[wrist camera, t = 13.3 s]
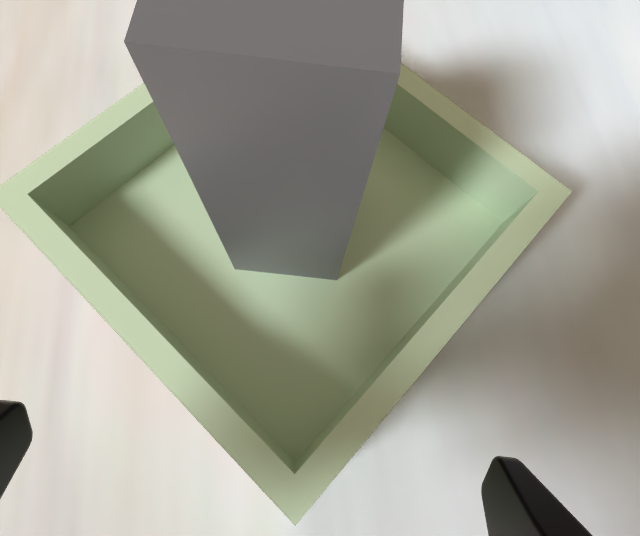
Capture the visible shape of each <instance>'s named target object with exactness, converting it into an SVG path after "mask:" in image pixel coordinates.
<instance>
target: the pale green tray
mask: <svg viewBox="0 0 640 536" xmlns="http://www.w3.org/2000/svg"><path fill="white" fill-rule="evenodd" d="M571 192H572V191H571V190H570V189H568V188H567V187H566V186H564V185H563V184H562V183H560V182H559V181H558V180H556V179H555V178H554V177H552V176H551V175H550V174H548V173H547V172H546V171H544V170H543V169H542V168H540V167H539V166H538V165H536V164H535V163H534V162H532V161H531V160H530V159H528V158H527V157H526V156H524V155H523V154H522V153H520V152H519V151H518V150H516V149H515V148H514V147H512V146H511V145H510V144H508V143H507V142H506V141H504V140H503V139H502V138H500V137H499V136H498V135H496V134H495V133H494V132H492V131H491V130H490V129H488V128H487V127H486V126H484V125H483V124H482V123H480V122H479V121H478V120H476V119H475V118H474V117H472V116H471V115H470V114H468V113H467V112H466V111H464V110H463V109H462V108H460V107H459V106H458V105H456V104H455V103H454V102H452V101H451V100H450V99H448V98H447V97H446V96H444V95H443V94H442V93H440V92H439V91H438V90H436V89H435V88H434V87H432V86H431V85H430V84H428V83H427V82H426V81H424V80H423V79H422V78H420V77H419V76H418V75H416V74H415V73H414V72H412V71H411V70H410V69H408V68H407V67H406V66H404V65H403V64H402V63H401V67H400V76H399V79H398V82H397V86H396V89H395V92H394V95H393V99H392V102H391V105H390V108H389V112H388V115H387V118H386V121H385V125H384V128H383V131H382V134H381V138H380V141H379V144H378V147H377V151H376V154H375V157H374V160H373V164H372V167H371V170H370V173H369V177H368V180H367V183H366V186H365V190H364V193H363V196H362V199H361V203H360V206H359V209H358V212H357V216H356V219H355V222H354V225H353V229H352V232H351V235H350V238H349V242H348V245H347V248H346V251H345V255H344V258H343V261H342V264H341V268H340V271H339V274H338V277H337V280H330V279H321V278H311V277H302V276H293V275H284V274H275V273H265V272H256V271H247V270H238V269H234V267H233V265H232V262H231V260H230V258H229V256H228V254H227V252H226V250H225V248H224V246H223V244H222V242H221V240H220V238H219V236H218V234H217V232H216V230H215V228H214V225H213V223H212V221H211V219H210V217H209V215H208V213H207V211H206V209H205V207H204V205H203V203H202V201H201V199H200V197H199V195H198V193H197V190H196V188H195V186H194V184H193V182H192V180H191V178H190V176H189V174H188V172H187V170H186V168H185V166H184V164H183V162H182V160H181V158H180V156H179V153H178V151H177V149H176V147H175V145H174V143H173V141H172V139H171V137H170V135H169V133H168V131H167V129H166V127H165V125H164V123H163V121H162V118H161V116H160V114H159V112H158V110H157V108H156V106H155V104H154V102H153V100H152V98H151V96H150V94H149V92H148V90H147V88H146V86H145V83H143V84H142V85H140V86H139V87H137V88H136V89H135V90H133V91H132V92H130V93H129V94H128V95H126V96H125V97H123V98H122V99H121V100H119V101H118V102H116V103H115V104H114V105H112V106H111V107H109V108H108V109H107V110H105V111H104V112H102V113H101V114H100V115H98V116H97V117H95V118H94V119H93V120H91V121H90V122H88V123H87V124H86V125H84V126H83V127H81V128H80V129H79V130H77V131H76V132H74V133H73V134H72V135H70V136H69V137H67V138H66V139H65V140H63V141H62V142H60V143H59V144H58V145H56V146H55V147H53V148H52V149H51V150H49V151H48V152H46V153H45V154H44V155H42V156H41V157H39V158H38V159H37V160H35V161H34V162H32V163H31V164H30V165H28V166H27V167H25V168H24V169H23V170H21V171H20V172H18V173H17V174H16V175H14V176H13V177H11V178H10V179H9V180H7V181H6V182H4V183H3V184H2V185H0V208H1V209H2V210H3V211H4V212H5V213H6V214H7V215H8V216H9V218H10V219H11V220H12V221H13V222H14V223H15V224H16V225H17V226H18V227H19V228H20V229H21V230H22V232H23V233H24V234H25V235H26V236H27V237H28V238H29V239H30V240H31V241H32V242H33V243H34V245H35V246H36V247H37V248H38V249H39V250H40V251H41V252H42V253H43V254H44V255H45V256H46V257H47V259H48V260H49V261H50V262H51V263H52V264H53V265H54V266H55V267H56V268H57V269H58V270H59V271H60V273H61V274H62V275H63V276H64V277H65V278H66V279H67V280H68V281H69V282H70V283H71V284H72V286H73V287H74V288H75V289H76V290H77V291H78V292H79V293H80V294H81V295H82V296H83V297H84V298H85V300H86V301H87V302H88V303H89V304H90V305H91V306H92V307H93V308H94V309H95V310H96V311H97V312H98V314H99V315H100V316H101V317H102V318H103V319H104V320H105V321H106V322H107V323H108V324H109V325H110V327H111V328H112V329H113V330H114V331H115V332H116V333H117V334H118V335H119V336H120V337H121V338H122V339H123V341H124V342H125V343H126V344H127V345H128V346H129V347H130V348H131V349H132V350H133V351H134V352H135V353H136V355H137V356H138V357H139V358H140V359H141V360H142V361H143V362H144V363H145V364H146V365H147V366H148V368H149V369H150V370H151V371H152V372H153V373H154V374H155V375H156V376H157V377H158V378H159V379H160V380H161V382H162V383H163V384H164V385H165V386H166V387H167V388H168V389H169V390H170V391H171V392H172V393H173V394H174V396H175V397H176V398H177V399H178V400H179V401H180V402H181V403H182V404H183V405H184V406H185V407H186V409H187V410H188V411H189V412H190V413H191V414H192V415H193V416H194V417H195V418H196V419H197V420H198V421H199V423H200V424H201V425H202V426H203V427H204V428H205V429H206V430H207V431H208V432H209V433H210V434H211V435H212V437H213V438H214V439H215V440H216V441H217V442H218V443H219V444H220V445H221V446H222V447H223V448H224V450H225V451H226V452H227V453H228V454H229V455H230V456H231V457H232V458H233V459H234V460H235V461H236V462H237V464H238V465H239V466H240V467H241V468H242V469H243V470H244V471H245V472H246V473H247V474H248V475H249V476H250V478H251V479H252V480H253V481H254V482H255V483H256V484H257V485H258V486H259V487H260V488H261V489H262V491H263V492H264V493H265V494H266V495H267V496H268V497H269V498H270V499H271V500H272V501H273V502H274V503H275V505H276V506H277V507H278V508H279V509H280V510H281V511H282V512H283V513H284V514H285V515H286V516H287V517H288V519H289V520H290V521H291V522H292V523H293V524H294V525H295V526H296V524H297V523H298V522H299V521H300V520H301V518H302V517H303V516H304V515H305V513H306V512H307V511H308V510H309V509H310V507H311V506H312V505H313V504H314V503H315V501H316V500H317V499H318V498H319V497H320V495H321V494H322V493H323V492H324V491H325V489H326V488H327V487H328V486H329V485H330V483H331V482H332V481H333V480H334V478H335V477H336V476H337V475H338V474H339V472H340V471H341V470H342V469H343V468H344V466H345V465H346V464H347V463H348V462H349V460H350V459H351V458H352V457H353V456H354V454H355V453H356V452H357V451H358V450H359V448H360V447H361V446H362V445H363V444H364V442H365V441H366V440H367V439H368V437H369V436H370V435H371V434H372V433H373V431H374V430H375V429H376V428H377V427H378V425H379V424H380V423H381V422H382V421H383V419H384V418H385V417H386V416H387V415H388V413H389V412H390V411H391V410H392V409H393V407H394V406H395V405H396V404H397V402H398V401H399V400H400V399H401V398H402V396H403V395H404V394H405V393H406V392H407V390H408V389H409V388H410V387H411V386H412V384H413V383H414V382H415V381H416V380H417V378H418V377H419V376H420V375H421V374H422V372H423V371H424V370H425V369H426V367H427V366H428V365H429V364H430V363H431V361H432V360H433V359H434V358H435V357H436V355H437V354H438V353H439V352H440V351H441V349H442V348H443V347H444V346H445V345H446V343H447V342H448V341H449V340H450V339H451V337H452V336H453V335H454V334H455V332H456V331H457V330H458V329H459V328H460V326H461V325H462V324H463V323H464V322H465V320H466V319H467V318H468V317H469V316H470V314H471V313H472V312H473V311H474V310H475V308H476V307H477V306H478V305H479V304H480V302H481V301H482V300H483V299H484V297H485V296H486V295H487V294H488V293H489V291H490V290H491V289H492V288H493V287H494V285H495V284H496V283H497V282H498V281H499V279H500V278H501V277H502V276H503V275H504V273H505V272H506V271H507V270H508V269H509V267H510V266H511V265H512V264H513V262H514V261H515V260H516V259H517V258H518V256H519V255H520V254H521V253H522V252H523V250H524V249H525V248H526V247H527V246H528V244H529V243H530V242H531V241H532V240H533V238H534V237H535V236H536V235H537V234H538V232H539V231H540V230H541V229H542V227H543V226H544V225H545V224H546V223H547V221H548V220H549V219H550V218H551V217H552V215H553V214H554V213H555V212H556V211H557V209H558V208H559V207H560V206H561V205H562V203H563V202H564V201H565V200H566V199H567V197H568V196H569V195H570V194H571Z"/></svg>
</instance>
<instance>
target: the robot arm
mask: <svg viewBox="0 0 640 536" xmlns="http://www.w3.org/2000/svg"><path fill="white" fill-rule="evenodd" d="M32 434H33V432H32V428H31V424H30V421H29V417H28V414H27V410H26V407H25V405H24V404H23V403H21V402H16V401H7V400H0V499H1V497H2V495H3V493H4V491H5V489H6V488H7V486H8V484H9V482H10V480H11V479H12V477H13V475H14V473H15V471H16V470H17V468H18V466H19V464H20V462H21V461H22V459H23V457H24V455H25V453H26V451H27V450H28V448H29V446H30V444H31V441H32ZM481 492H482V500H483V506H484V512H485V517H486V523H487V529H488V534H489V536H592V535H591V534H590V533H589V532H588V530H587V529H586V528H585V527H584V526H583V525H582V524H581V523H580V522H579V521H578V520H577V519H576V518H575V517H574V516H573V515H572V514H571V513H570V512H569V511H568V510H567V509H566V508H565V507H564V506H563V505H562V504H561V503H560V502H559V500H558V499H557V498H556V497H555V496H554V495H553V494H552V493H551V492H550V491H549V490H548V489H547V488H546V487H545V486H544V485H543V484H542V483H541V482H540V481H539V480H538V479H537V478H536V477H535V476H534V475H533V474H532V473H531V472H530V470H529V469H528V468H527V467H526V466H525V465H524V464H523V463H522V462H521V461H519V460H518V459H516V458H511V457H502V456H496V457H495V458H494V459H493V460H492V462H491V465H490V467H489V469H488V471H487V474H486V476H485V478H484V480H483V483H482V490H481Z"/></svg>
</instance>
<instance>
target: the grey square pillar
mask: <svg viewBox="0 0 640 536" xmlns="http://www.w3.org/2000/svg"><path fill="white" fill-rule="evenodd" d="M403 3H404V0H137V3H136V6H135V9H134V12H133V15H132V18H131V21H130V24H129V28H128V31H127V34H126V37H125V40H124V42H125V44H126V46H127V49H128V51H129V53H130V55H131V57H132V59H133V61H134V63H135V65H136V67H137V69H138V71H139V73H140V75H141V77H142V79H143V81H144V83H145V86H146V88H147V90H148V92H149V94H150V96H151V98H152V100H153V102H154V104H155V106H156V108H157V110H158V112H159V114H160V116H161V118H162V121H163V123H164V125H165V127H166V129H167V131H168V133H169V135H170V137H171V139H172V141H173V143H174V145H175V147H176V149H177V151H178V153H179V156H180V158H181V160H182V162H183V164H184V166H185V168H186V170H187V172H188V174H189V176H190V178H191V180H192V182H193V184H194V186H195V188H196V190H197V193H198V195H199V197H200V199H201V201H202V203H203V205H204V207H205V209H206V211H207V213H208V215H209V217H210V219H211V221H212V223H213V225H214V228H215V230H216V232H217V234H218V236H219V238H220V240H221V242H222V244H223V246H224V248H225V250H226V252H227V254H228V256H229V258H230V260H231V262H232V265H233V267H234V269H238V270H247V271H256V272H265V273H275V274H284V275H293V276H302V277H311V278H321V279H330V280H337V277H338V274H339V271H340V268H341V264H342V261H343V258H344V255H345V251H346V248H347V245H348V242H349V238H350V235H351V232H352V229H353V225H354V222H355V219H356V216H357V212H358V209H359V206H360V203H361V199H362V196H363V193H364V190H365V186H366V183H367V180H368V177H369V173H370V170H371V167H372V164H373V160H374V157H375V154H376V151H377V147H378V144H379V141H380V138H381V134H382V131H383V128H384V125H385V121H386V118H387V115H388V112H389V108H390V105H391V102H392V99H393V95H394V92H395V89H396V86H397V82H398V79H399V76H400V67H401V46H402V25H403Z"/></svg>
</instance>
